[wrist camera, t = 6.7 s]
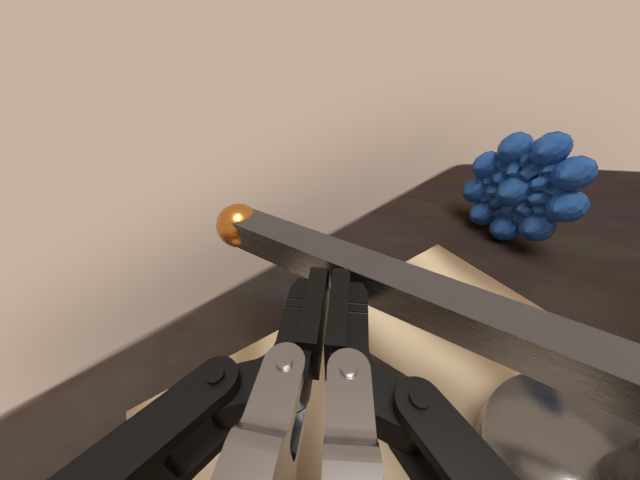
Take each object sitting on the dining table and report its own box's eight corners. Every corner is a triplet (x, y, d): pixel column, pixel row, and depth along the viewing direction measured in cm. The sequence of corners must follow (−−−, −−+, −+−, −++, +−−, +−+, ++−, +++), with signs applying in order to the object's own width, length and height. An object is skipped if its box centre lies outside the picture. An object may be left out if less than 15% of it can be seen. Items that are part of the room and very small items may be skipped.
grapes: (576, 255, 29) (657, 138, 22) (533, 277, 27) (608, 154, 19) (480, 205, 37) (516, 108, 30) (442, 218, 35) (470, 117, 28)
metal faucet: (671, 452, 13) (920, 338, 8) (754, 745, 8) (1798, 1092, 2) (282, 274, 23) (266, 169, 18) (205, 349, 18) (147, 234, 12)
